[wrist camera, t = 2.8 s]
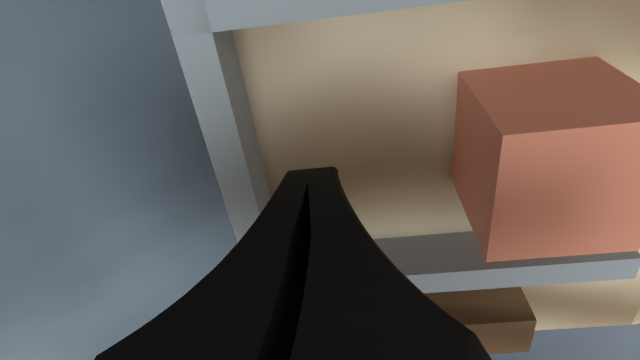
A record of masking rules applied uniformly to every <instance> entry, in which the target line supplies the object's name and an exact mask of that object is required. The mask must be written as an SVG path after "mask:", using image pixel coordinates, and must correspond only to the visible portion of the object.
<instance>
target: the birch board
mask: <svg viewBox="0 0 640 360" xmlns="http://www.w3.org/2000/svg"><path fill="white" fill-rule="evenodd" d="M232 32H233V37H234V41H235V45H236V49H237V54H238V58H239V62H240V66H241V71H242V75H243V79H244V83H245V88H246V92H247V96H248V100H249V105H250V109H251V113H252V118H253V122H254V126H255V130H256V135H257V139H258V143H259V147H260V152H261V156H262V160H263V164H264V169H265V173H266V177H267V182H268V186H269V190H270V194H271V197H272V195H273V194H274V192H275V191H276V189H277V187H278V186H279V184H280V182H281V181H282V179H283V177H284V175H285V174H286V173H287V172H288V171H289V170H300V169H310V168H321V167H331V166H334V167H335V168H336V169H338V175H339V179H340V182H341V185H342V188H343V190H344V192H345V195H346V197H347V199H348V201H349V202H350V204H351V206H352V208H353V210H354V211H355V213H356V215H357V216H358V218H359V220H360V221H361V223H362V224H363V226H364V227H365V229H366V230H367V232H368V233H369V234H370V236H371V237H372V239H382V238H394V237H406V236H418V235H431V234H443V233H455V232H468V231H473V230H472V227H471V225H470V223H469V220H468V218H467V216H466V213H465V211H464V208H463V206H462V204H461V201H460V199H459V196H458V194H457V192H456V189H455V187H454V185H453V182H452V167H453V150H454V134H455V118H456V101H457V85H458V72H459V71H468V70H477V69H486V68H495V67H504V66H513V65H522V64H531V63H540V62H549V61H558V60H567V59H576V58H585V57H594V56H598V57H599V58H601V59H602V60H604V61H605V62H607V63H609V64H610V65H612V66H613V67H615V68H616V69H618V70H620V71H621V72H623V73H624V74H626V75H627V76H629V77H631V78H632V79H634V80H635V81H637V82H638V83H640V0H470V1H462V2H454V3H446V4H438V5H430V6H422V7H414V8H406V9H398V10H390V11H382V12H373V13H365V14H357V15H349V16H341V17H333V18H325V19H317V20H309V21H301V22H293V23H285V24H277V25H269V26H261V27H253V28H245V29H237V30H232ZM638 252H639V253H640V248H639V250H638ZM521 288H522V290H523V293H524V295H525V297H526V299H527V301H528V303H529V305H530V307H531V309H532V311H533V313H534V315H535V318H536V320H537V322H536V326H535V330H550V329H567V328H583V327H599V326H615V325H631V324H640V268H639V270H638V272H637V275H636V277H635V279H622V280H608V281H594V282H579V283H565V284H551V285H536V286H522V287H521Z"/></svg>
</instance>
